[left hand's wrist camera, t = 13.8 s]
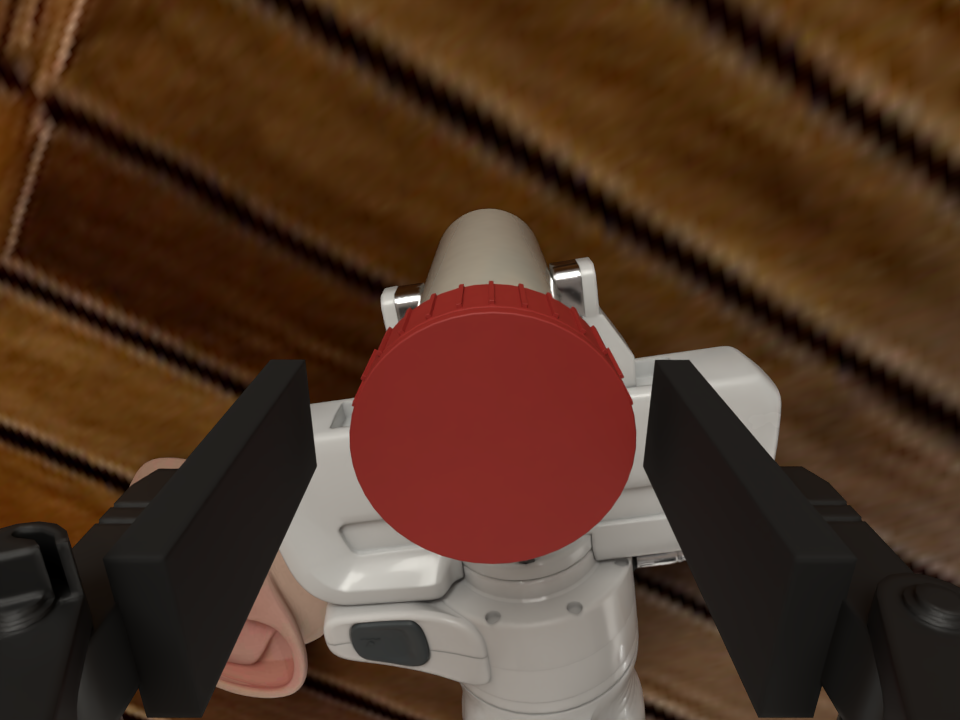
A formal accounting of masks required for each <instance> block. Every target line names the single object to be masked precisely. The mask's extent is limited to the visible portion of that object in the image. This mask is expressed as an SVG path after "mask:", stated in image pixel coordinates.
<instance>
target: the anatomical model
mask: <svg viewBox="0 0 960 720" xmlns="http://www.w3.org/2000/svg"><path fill="white" fill-rule="evenodd" d="M185 460H186V459H180V458H158V459H154V460H151V461H148V462H147V463H145V464H144V465H143V466H142V467H141V468H140V469H139V470H138V471H137V473H136V475H135V477H134V478H133V480H132V482H131V484H130V486H131V485H132V484H134V483H136V482H137V481H139V480H141V479H142V478H144V477H145V476H147V475H149V474H150V473H152V472H154V471H155V470H157V469H179V468H180V466H181V465H182V464H183V463H184V462H185ZM326 607H327V602H325V601H322V600H320V599H318V598H316V597H314V596H313V595H311V594H310V593H308V592H307V591H306V590H305V589H304V588H303V587H302V586H301V585H300V584H299V583H298V582H297V581H296V579H295V578H294V577H293V575H292V573H291V572H290V570H289V569H288V567H287V565H286V563H285V561H284V559H283V557H282V555H281V553H280V551H279V550H278V553H277V555H276V557H275V559H274V561H273V563H272V566H271V568H270V570H269V572H268V574H267V576H266V579H265V581H264V583H263V585H262V587H261V589H260V592H259V594H258V596H257V598H256V600H255V602H254V605H253V607H252V609H251V611H250V613H249V616H248V618H247V620H246V622H245V624H244V626H243V629H242V631H241V633H240V635H239V637H238V639H237V642H236V644H235V646H234V648H233V650H232V652H231V655H230V657H229V659H228V661H227V663H226V665H225V668H224V670H223V672H222V674H221V676H220V679H219V681H218V683H217V685H216V687H218V688H221V689H224V690H226V691H229V692H233V693H236V694H240V695H245V696H251V697H259V698H276V697H284V696H287V695H291V694H293V693H295V692H296V691H297V690H299V689H300V687H301V686H302V685H303V683H304V681H305V678H306V675H307V668H308V662H307V652H306V647H305V644H307V643H309V642H312V641H314V640H316V639H318V638H319V637H321V636H322V635H323V634H324V631H323V628H324V620H325V613H326Z"/></svg>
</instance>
